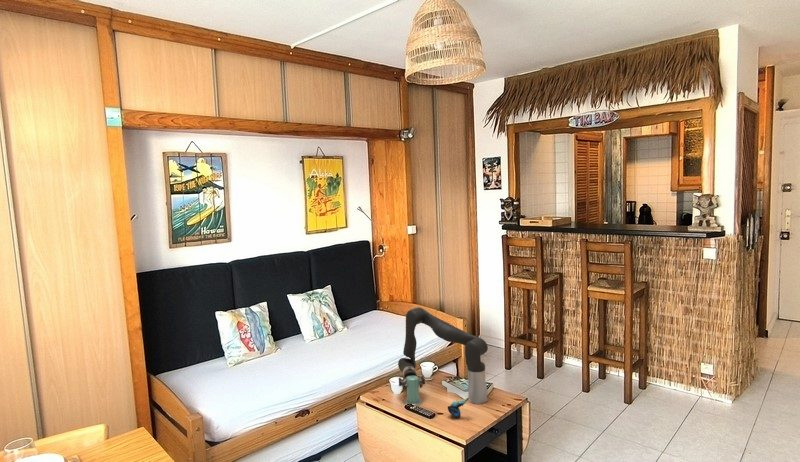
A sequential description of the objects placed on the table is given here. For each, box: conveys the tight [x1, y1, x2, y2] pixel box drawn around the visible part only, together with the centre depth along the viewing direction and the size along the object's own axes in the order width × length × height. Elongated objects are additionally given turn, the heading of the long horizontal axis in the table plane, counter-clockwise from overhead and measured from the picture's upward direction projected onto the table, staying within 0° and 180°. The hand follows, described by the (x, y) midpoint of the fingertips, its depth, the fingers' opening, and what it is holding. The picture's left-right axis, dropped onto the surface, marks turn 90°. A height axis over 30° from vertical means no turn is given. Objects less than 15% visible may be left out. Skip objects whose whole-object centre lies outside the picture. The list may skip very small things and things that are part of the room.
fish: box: [447, 398, 468, 419], centre depth 241 cm, size 4×10×10 cm, turn 78°
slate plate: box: [402, 397, 424, 407], centre depth 261 cm, size 11×11×1 cm
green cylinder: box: [406, 375, 420, 404], centre depth 260 cm, size 6×6×13 cm
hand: (413, 386), depth 258 cm, fingers open, 8 cm apart
